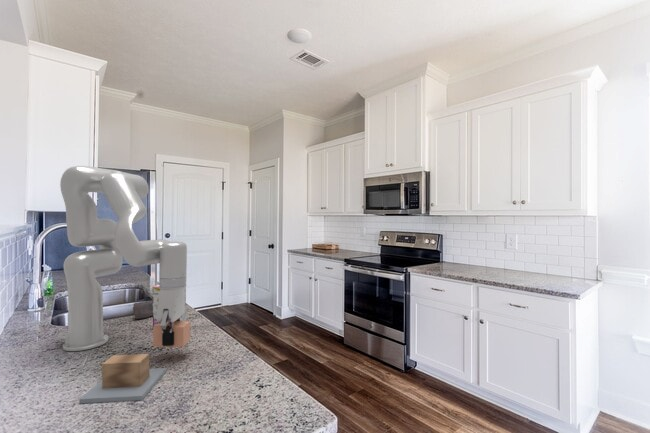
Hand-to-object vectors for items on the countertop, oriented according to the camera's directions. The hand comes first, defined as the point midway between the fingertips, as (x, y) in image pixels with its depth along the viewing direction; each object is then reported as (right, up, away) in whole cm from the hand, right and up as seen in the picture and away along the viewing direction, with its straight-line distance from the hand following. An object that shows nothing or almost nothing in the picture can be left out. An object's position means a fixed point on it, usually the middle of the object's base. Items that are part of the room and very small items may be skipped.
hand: (172, 340), depth 100 cm
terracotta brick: (0, -1, 0) cm, 1 cm away
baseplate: (-4, -5, -17) cm, 18 cm away
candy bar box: (-13, -5, +27) cm, 30 cm away
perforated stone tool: (-29, -5, +41) cm, 51 cm away
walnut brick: (-4, -4, -17) cm, 18 cm away
